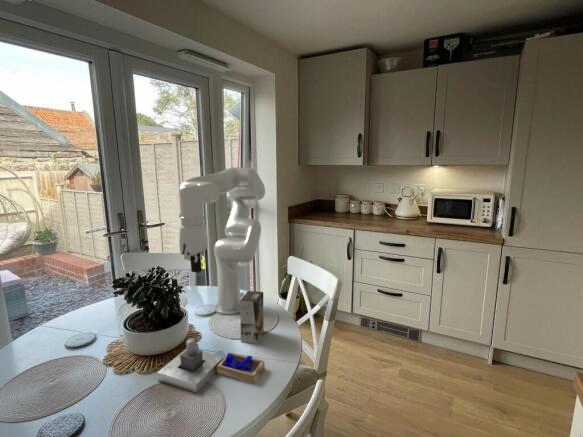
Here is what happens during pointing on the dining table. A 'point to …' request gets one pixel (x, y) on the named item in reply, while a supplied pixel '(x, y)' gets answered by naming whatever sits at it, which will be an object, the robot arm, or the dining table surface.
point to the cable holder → (238, 363)
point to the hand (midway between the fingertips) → (196, 271)
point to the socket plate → (189, 379)
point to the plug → (191, 357)
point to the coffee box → (251, 316)
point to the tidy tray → (241, 374)
